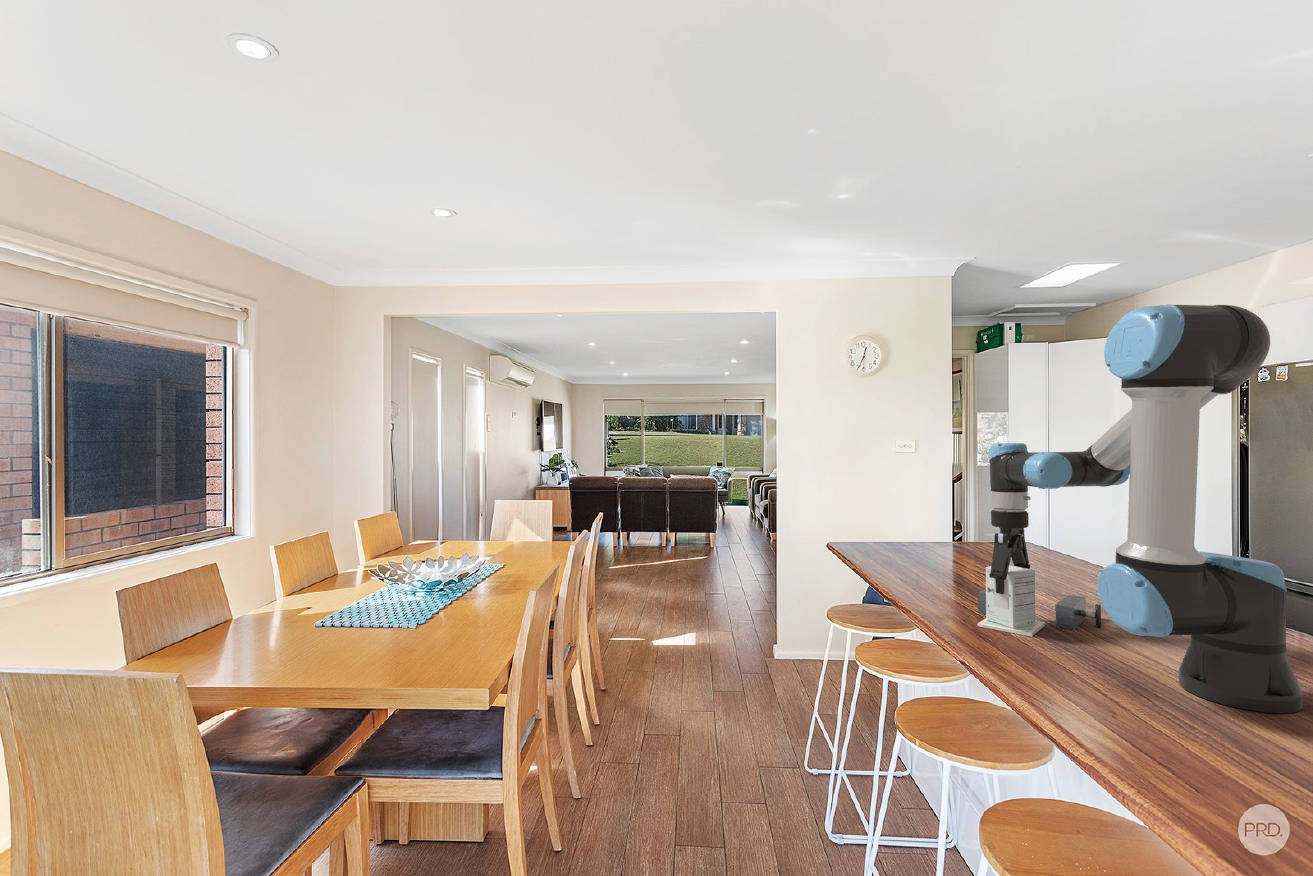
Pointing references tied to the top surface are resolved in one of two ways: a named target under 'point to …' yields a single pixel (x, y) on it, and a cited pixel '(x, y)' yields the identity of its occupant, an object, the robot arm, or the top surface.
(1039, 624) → the plate
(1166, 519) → the robot arm
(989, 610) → the supplement box
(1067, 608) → the vise
